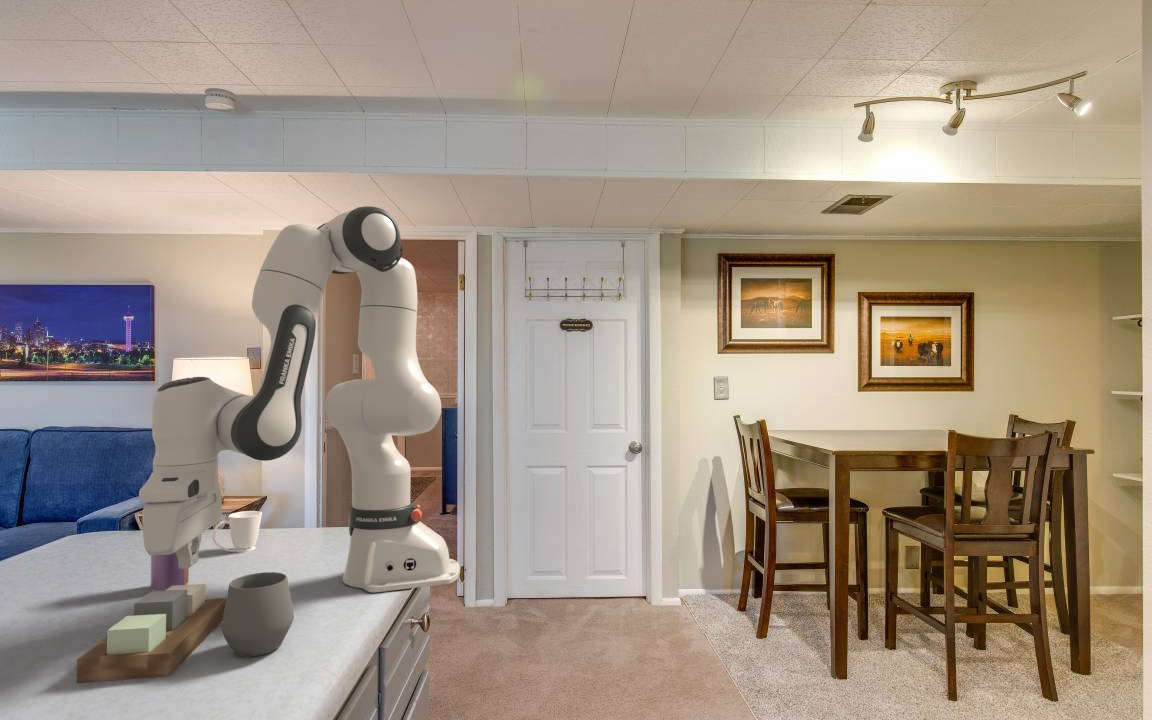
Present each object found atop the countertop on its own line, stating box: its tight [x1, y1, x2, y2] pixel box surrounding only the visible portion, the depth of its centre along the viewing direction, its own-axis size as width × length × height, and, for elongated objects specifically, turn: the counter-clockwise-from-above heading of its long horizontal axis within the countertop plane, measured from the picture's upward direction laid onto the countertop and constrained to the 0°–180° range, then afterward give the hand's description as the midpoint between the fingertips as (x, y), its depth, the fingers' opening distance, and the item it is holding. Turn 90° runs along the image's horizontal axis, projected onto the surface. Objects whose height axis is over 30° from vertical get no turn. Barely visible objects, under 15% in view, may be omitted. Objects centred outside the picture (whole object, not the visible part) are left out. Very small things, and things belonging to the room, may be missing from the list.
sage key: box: [106, 614, 166, 655], centre depth 87 cm, size 5×5×4 cm
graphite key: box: [133, 590, 187, 632], centre depth 94 cm, size 5×5×4 cm
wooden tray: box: [76, 597, 227, 683], centre depth 94 cm, size 11×21×3 cm, turn 10°
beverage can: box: [150, 552, 190, 591], centre depth 119 cm, size 6×6×15 cm
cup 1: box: [212, 510, 263, 553], centre depth 143 cm, size 7×10×8 cm
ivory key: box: [166, 583, 207, 613], centre depth 101 cm, size 5×5×4 cm
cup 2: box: [220, 571, 295, 657], centre depth 93 cm, size 10×9×10 cm
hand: (188, 565), depth 101 cm, fingers closed
